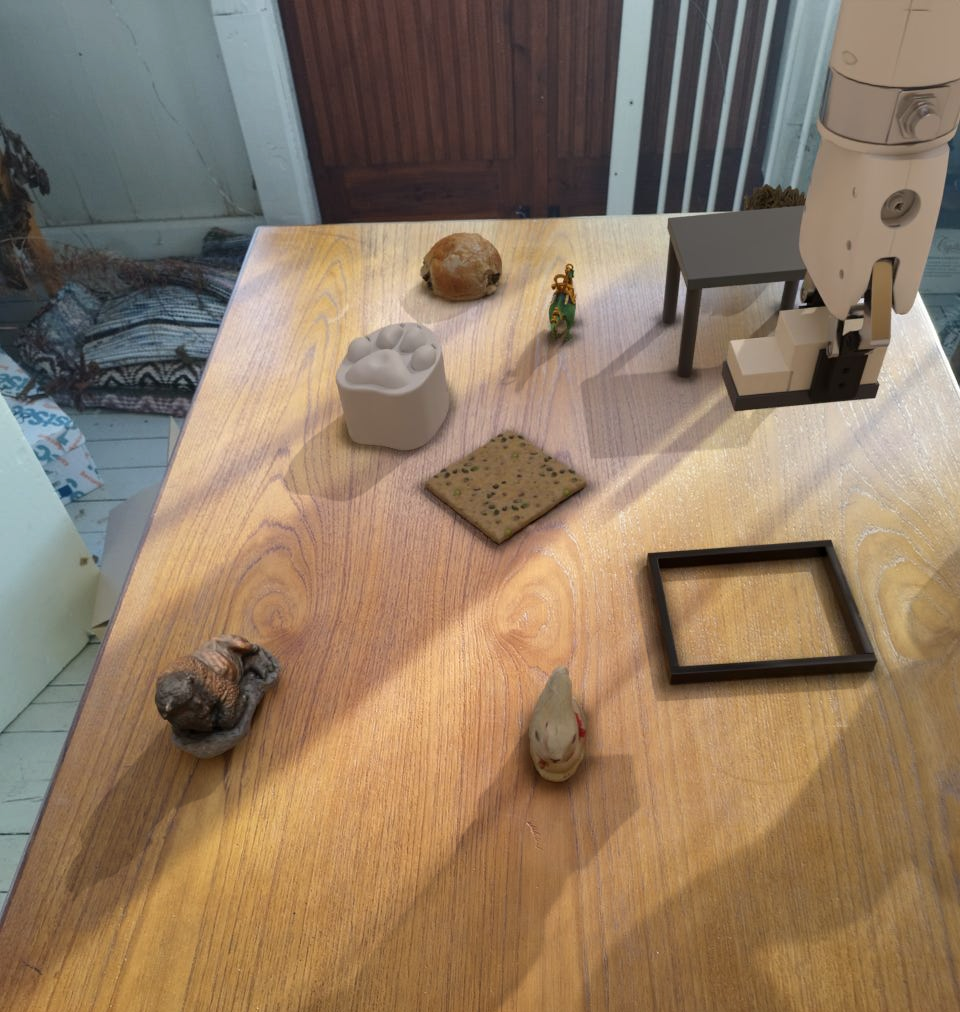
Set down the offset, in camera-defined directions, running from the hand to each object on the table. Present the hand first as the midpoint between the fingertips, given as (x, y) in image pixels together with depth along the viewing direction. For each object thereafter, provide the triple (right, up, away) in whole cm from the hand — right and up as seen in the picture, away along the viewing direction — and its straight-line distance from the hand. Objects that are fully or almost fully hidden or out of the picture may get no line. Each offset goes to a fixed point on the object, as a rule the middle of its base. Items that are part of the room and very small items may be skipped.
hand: (821, 373), depth 63 cm
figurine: (-15, +17, +42) cm, 48 cm away
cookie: (-22, -4, +26) cm, 34 cm away
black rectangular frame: (-1, -17, +13) cm, 22 cm away
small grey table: (+5, +16, +38) cm, 42 cm away
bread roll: (-27, +27, +51) cm, 64 cm away
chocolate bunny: (-18, -28, +7) cm, 34 cm away
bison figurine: (-45, -26, +11) cm, 53 cm away
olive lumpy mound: (+12, +29, +49) cm, 58 cm away
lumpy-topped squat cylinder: (-33, +7, +36) cm, 49 cm away
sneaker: (-2, -1, +1) cm, 2 cm away
